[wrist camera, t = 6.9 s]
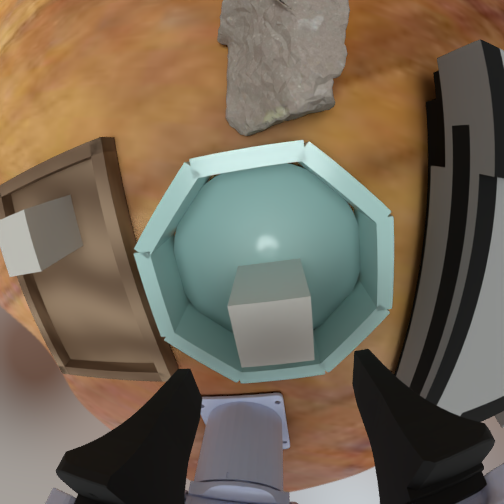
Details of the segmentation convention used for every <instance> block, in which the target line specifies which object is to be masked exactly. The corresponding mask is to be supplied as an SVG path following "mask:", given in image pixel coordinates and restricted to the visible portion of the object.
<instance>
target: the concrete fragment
mask: <svg viewBox="0 0 504 504" xmlns="http://www.w3.org/2000/svg"><path fill="white" fill-rule="evenodd" d="M349 11H350V9H349V3H348V0H223V2H222V13H221V15H220V20H221V24H220V27H219V30H218V39H217V40H218V42H219V43H221V44H225V45H227V46H228V69H227V96H226V102H227V109H226V120H227V121H228V123H229V125H230V126H231V127H233V128H235V129H236V130H237V131H238V133H240V134H241V135H245V136H250V135H252V134H255V133H257V132H261V131H264V130H265V129H267V128H269V127H271V126H273V125H276V124H279V123H282V122H283V121H288V120H291V119H296V118H299V117H302V116H305V115H307V114H309V113H315V112H320V111H324V110H329V109H331V108H332V107H334V105H335V100H334V97H333V90H332V86H333V83H334V82H333V78H337V77H339V76H340V74H341V72H342V70H343V68H344V66H345V62H346V56H347V49H346V46H345V45H344V41H345V37H346V36H345V30H346V27H347V24H348V18H349Z"/></svg>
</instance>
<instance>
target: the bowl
mask: <svg viewBox="0 0 504 504" xmlns="http://www.w3.org/2000/svg"><path fill="white" fill-rule="evenodd" d="M189 160H190V162H184V164H183V166H182V167H181V169H180V170H179V172H178V173H177V175H176V177H175V178H174V180H173V181H172V183H171V185H170V186H169V188H168V190H167V191H166V193H165V194H164V196H163V198H162V200H161V201H160V203H159V205H158V206H157V208H156V210H155V211H154V213H153V215H152V217H151V218H150V220H149V222H148V224H147V226H146V227H145V229H144V231H143V233H142V235H141V236H140V238H139V240H138V242H137V244H136V246H135V248H134V249H135V250H136V252H135V253H134V257H135V260H136V264H137V267H138V270H139V274H140V277H141V280H142V283H143V286H144V290H145V293H146V296H147V299H148V302H149V305H150V308H151V310H152V313H153V316H154V319H155V322H156V325H157V327H158V330H159V333H160V335H161V337H165V339H164V341H166V342H168V343H169V344H171V345H172V346H174V347H175V348H177V349H179V350H180V351H182V352H184V353H185V354H187V355H189V356H190V357H192V358H194V359H195V360H197V361H199V362H200V363H202V364H204V365H206V366H207V367H209V368H211V369H213V370H214V371H216V372H218V373H220V374H222V375H223V376H225V377H227V378H229V379H231V380H233V381H235V382H236V383H237V382H238V381H239V380H240V382H241V383H255V382H266V381H277V380H286V379H294V378H302V377H309V376H316V375H323V374H325V371H327V372H330V371H331V370H332V369H333V368H334V367H335V366H337V365H338V364H339V363H340V362H341V361H342V360H343V359H344V358H345V357H346V356H347V355H349V354H350V353H351V352H352V351H353V350H354V349H355V348H356V347H357V346H358V345H359V344H360V343H361V342H362V341H363V340H364V339H365V338H366V337H367V336H368V335H369V334H370V333H371V332H372V331H373V330H374V329H375V328H376V327H377V326H378V325H379V324H380V323H381V322H382V321H383V320H384V319H385V318H386V316H387V315H388V314H389V313H390V312H389V310H388V309H392V300H393V280H394V219H393V216H392V215H390V213H391V211H390V210H389V209H388V208H387V207H386V206H385V205H384V204H383V203H382V202H381V201H380V200H379V199H378V198H376V197H375V196H374V195H373V194H372V193H371V192H370V191H369V190H368V189H366V188H365V187H364V186H363V185H362V184H361V183H360V182H358V181H357V180H356V179H355V178H354V177H353V176H351V175H350V174H349V173H348V172H347V171H346V170H344V169H343V168H342V167H341V166H340V165H338V164H337V163H336V162H335V161H333V160H332V159H331V158H330V157H328V156H327V155H326V154H325V153H323V152H322V151H321V150H320V149H318V148H317V147H316V146H314V145H313V144H312V143H310V142H306V143H304V141H303V140H298V141H290V142H283V143H275V144H268V145H262V146H255V147H249V148H243V149H238V150H232V151H227V152H221V153H216V154H211V155H206V156H201V157H197V158H192V159H189ZM291 162H297V163H298V164H300V165H301V166H302V167H304V168H302V167H299V166H296V165H293V164H288V163H291ZM215 174H219V175H217V176H216V177H214V178H213V179H211V180H210V181H209V179H210V178H211V176H212V175H215ZM208 181H209V182H208ZM347 202H348V203H349V204H350V205H351V206H352V207H353V208H354V213H353V211H352V209H351V208H350V206H349V204H348V203H347ZM175 231H176V234H175V236H174V233H175ZM298 258H300V260H301V263H302V267H303V270H304V274H305V277H306V281H307V285H308V288H309V292H310V296H311V307H312V322H313V339H314V359H315V360H311V361H304V362H296V363H287V364H278V365H268V366H256V367H243V368H242V367H241V363H240V359H239V355H238V350H237V346H236V342H235V338H234V333H233V329H232V324H231V320H230V316H229V311H228V307H227V306H228V302H229V298H230V294H231V290H232V287H233V283H234V279H235V275H236V271H237V268H238V266H243V265H251V264H259V263H267V262H275V261H283V260H291V259H298Z"/></svg>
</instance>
